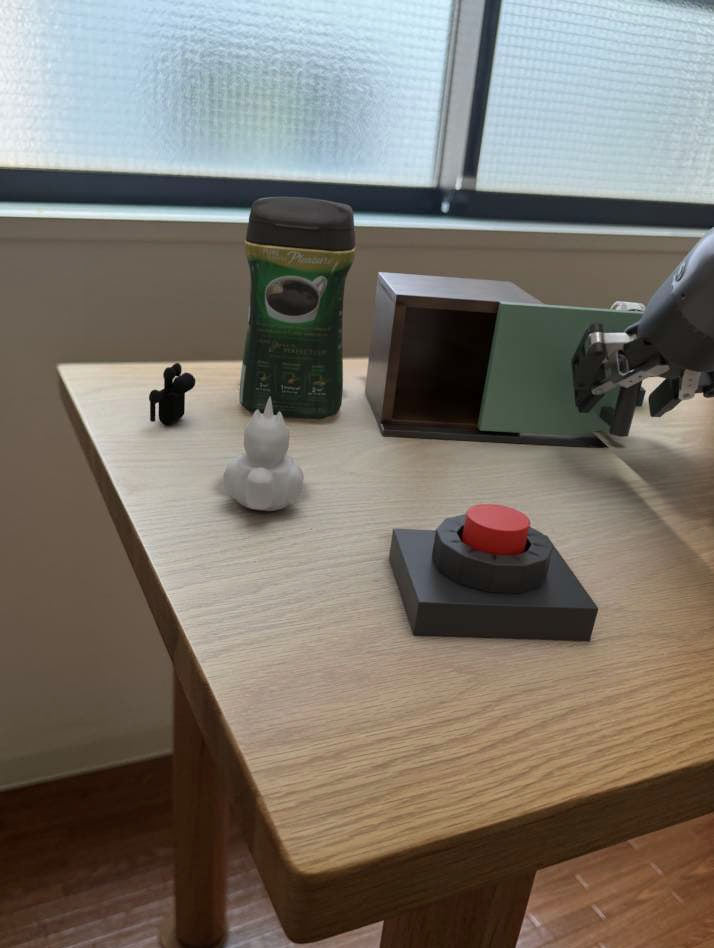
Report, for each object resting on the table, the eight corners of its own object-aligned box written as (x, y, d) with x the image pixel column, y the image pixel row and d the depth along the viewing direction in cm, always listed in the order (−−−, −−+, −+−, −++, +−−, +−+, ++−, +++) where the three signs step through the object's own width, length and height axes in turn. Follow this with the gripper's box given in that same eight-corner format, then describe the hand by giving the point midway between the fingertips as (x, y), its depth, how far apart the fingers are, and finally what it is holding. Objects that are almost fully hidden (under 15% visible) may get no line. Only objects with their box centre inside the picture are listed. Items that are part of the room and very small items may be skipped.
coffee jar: (343, 402, 83) (363, 199, 75) (337, 428, 76) (359, 207, 68) (245, 391, 84) (255, 189, 76) (230, 416, 77) (240, 196, 69)
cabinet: (572, 405, 89) (599, 288, 83) (620, 449, 77) (655, 316, 72) (364, 393, 87) (378, 271, 81) (382, 436, 75) (399, 298, 70)
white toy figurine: (304, 495, 62) (313, 389, 59) (296, 535, 56) (305, 419, 53) (230, 487, 62) (235, 381, 59) (214, 526, 56) (219, 411, 53)
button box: (540, 565, 55) (552, 509, 54) (589, 642, 47) (606, 579, 46) (388, 558, 54) (396, 501, 53) (413, 636, 46) (423, 572, 45)
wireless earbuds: (181, 409, 77) (181, 354, 75) (206, 414, 77) (207, 359, 75) (144, 432, 71) (144, 373, 69) (171, 437, 71) (172, 378, 69)
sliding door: (617, 434, 78) (648, 311, 73) (640, 455, 73) (676, 325, 68) (477, 426, 77) (499, 301, 72) (492, 447, 72) (517, 314, 67)
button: (514, 531, 51) (520, 505, 50) (532, 560, 48) (538, 532, 47) (455, 529, 51) (460, 502, 50) (469, 557, 47) (475, 529, 47)
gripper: (632, 333, 56) (540, 440, 72) (836, 347, 58) (701, 449, 74) (620, 238, 59) (534, 362, 74) (816, 253, 60) (690, 372, 76)
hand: (617, 405), depth 74 cm, fingers open, 6 cm apart
